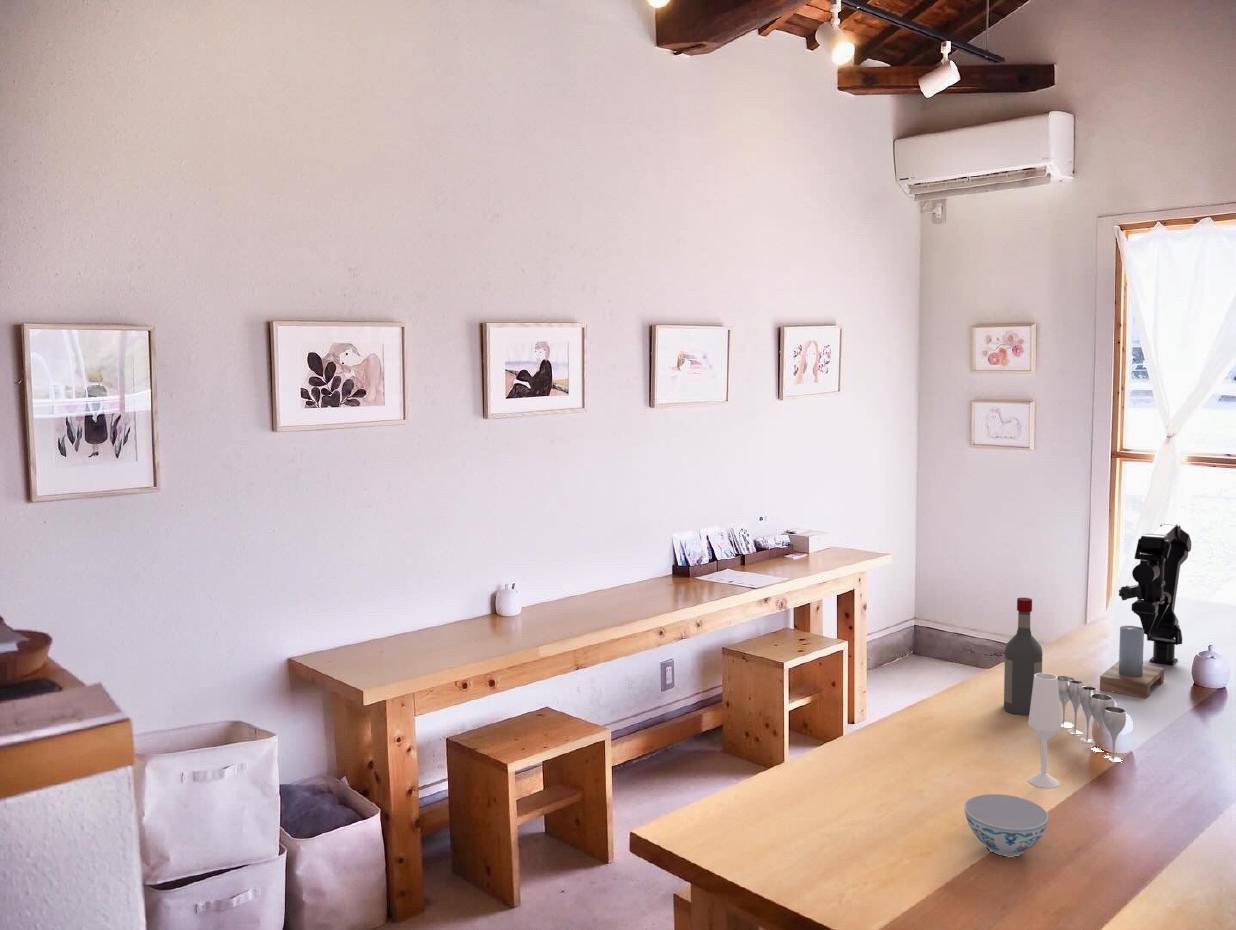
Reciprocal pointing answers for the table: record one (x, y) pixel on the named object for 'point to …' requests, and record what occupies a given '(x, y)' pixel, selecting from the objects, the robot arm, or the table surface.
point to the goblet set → (1091, 709)
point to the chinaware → (1006, 822)
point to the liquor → (1021, 663)
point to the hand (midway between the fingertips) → (1150, 630)
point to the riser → (1131, 681)
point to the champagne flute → (1044, 721)
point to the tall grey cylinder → (1131, 651)
